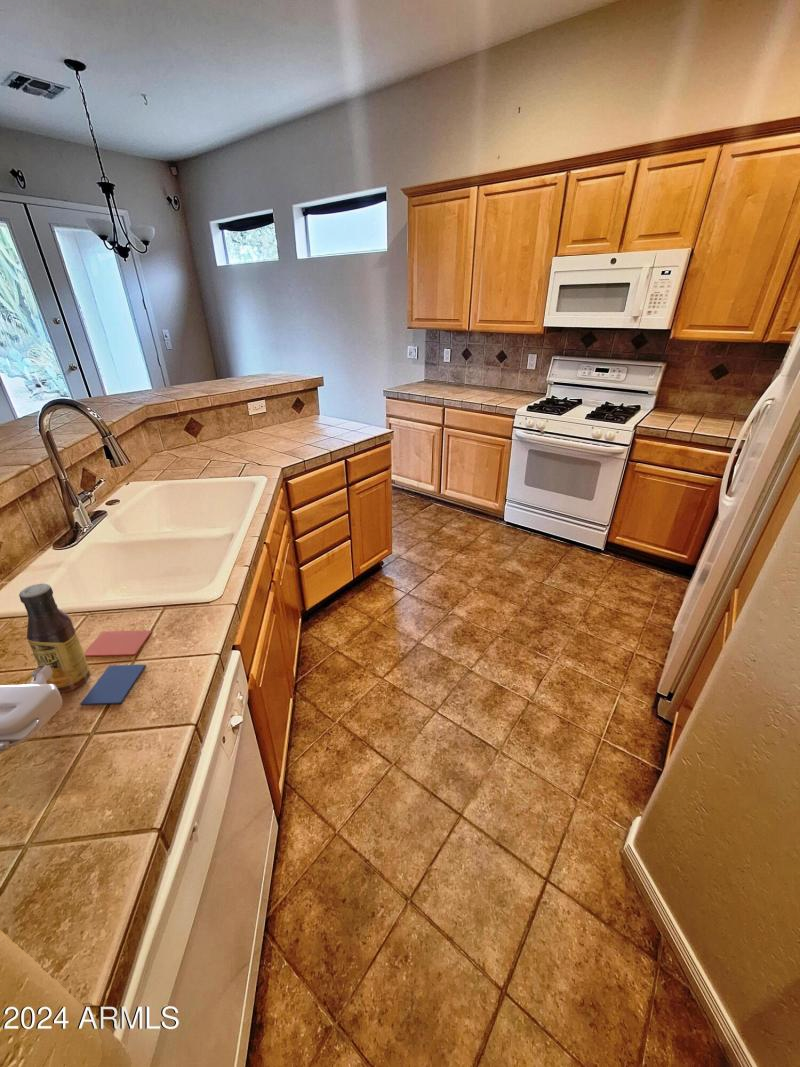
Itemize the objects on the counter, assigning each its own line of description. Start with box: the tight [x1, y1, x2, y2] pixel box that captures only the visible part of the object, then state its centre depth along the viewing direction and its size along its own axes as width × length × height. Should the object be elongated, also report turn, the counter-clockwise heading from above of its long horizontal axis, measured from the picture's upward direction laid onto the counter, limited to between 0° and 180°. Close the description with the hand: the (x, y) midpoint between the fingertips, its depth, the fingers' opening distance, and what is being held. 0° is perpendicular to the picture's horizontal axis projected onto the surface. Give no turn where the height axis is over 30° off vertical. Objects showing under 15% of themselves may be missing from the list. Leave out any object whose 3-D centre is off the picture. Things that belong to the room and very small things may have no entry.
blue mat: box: [80, 664, 147, 706], centre depth 76 cm, size 7×9×1 cm
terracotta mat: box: [83, 629, 153, 658], centre depth 86 cm, size 10×7×1 cm
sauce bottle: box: [18, 582, 91, 693], centre depth 72 cm, size 6×6×20 cm
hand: (13, 669), depth 65 cm, fingers open, 8 cm apart
